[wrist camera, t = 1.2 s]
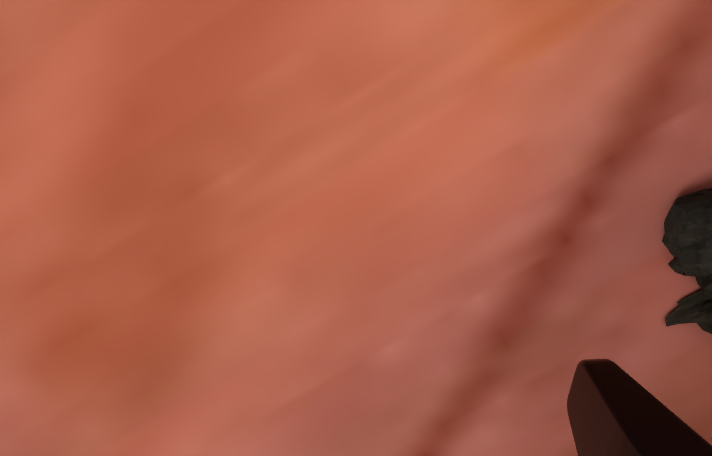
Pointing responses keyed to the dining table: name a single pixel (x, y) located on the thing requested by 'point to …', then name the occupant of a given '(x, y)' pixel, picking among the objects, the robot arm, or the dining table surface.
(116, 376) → the dining table surface
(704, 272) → the wood
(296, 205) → the dining table surface
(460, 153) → the dining table surface
